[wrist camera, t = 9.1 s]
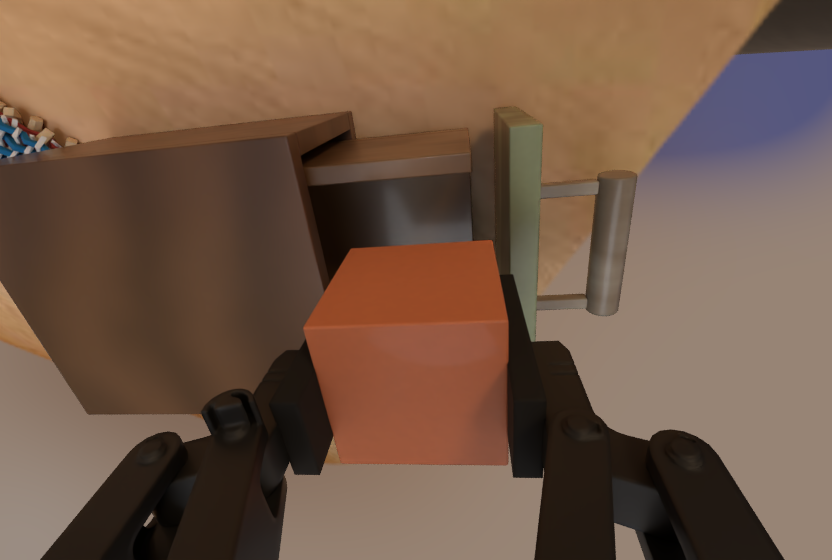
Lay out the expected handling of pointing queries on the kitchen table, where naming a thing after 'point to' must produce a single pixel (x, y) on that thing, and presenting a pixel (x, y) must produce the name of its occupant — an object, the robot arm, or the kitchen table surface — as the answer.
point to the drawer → (465, 204)
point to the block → (415, 355)
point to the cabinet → (167, 258)
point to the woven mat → (24, 134)
